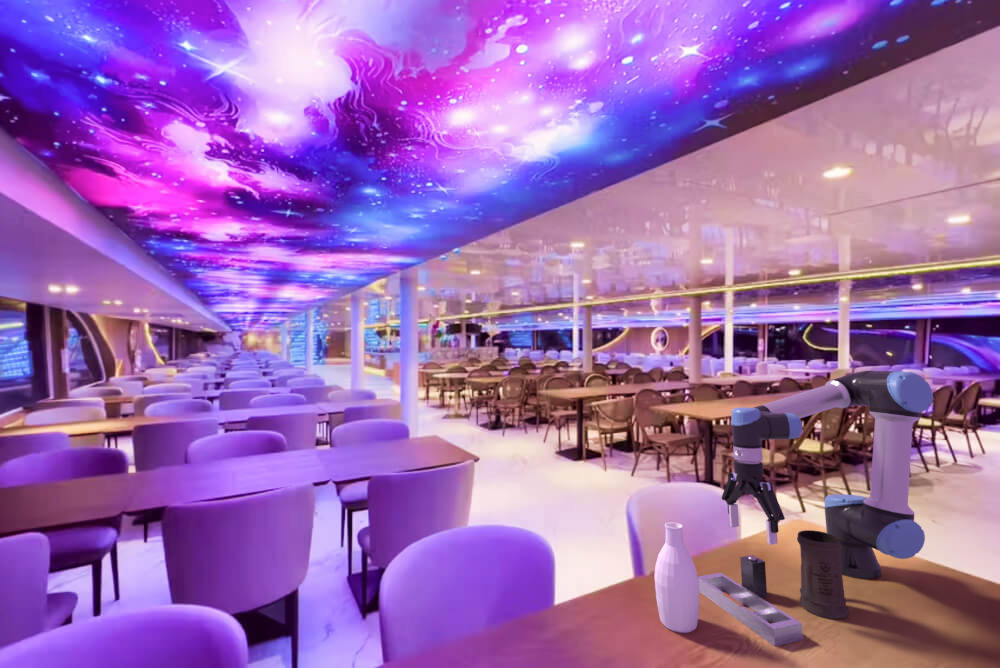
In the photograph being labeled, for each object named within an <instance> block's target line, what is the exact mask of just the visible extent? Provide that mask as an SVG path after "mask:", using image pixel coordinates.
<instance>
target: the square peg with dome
mask: <svg viewBox="0 0 1000 668" xmlns="http://www.w3.org/2000/svg"><path fill="white" fill-rule="evenodd" d="M739 559H740V572H741V586H743V587H744V588H746V589H748V590H749V591H751V592H753V593H754V594H756V595H757V596H759V597H761V598H762V599H764V598H768V590H767V586H768V585H767V573H766V572H767V571H766V561H764V560H762V559H761V558H759V557H757V556H755V555H746V556H741V557H740V558H739Z"/></svg>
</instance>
